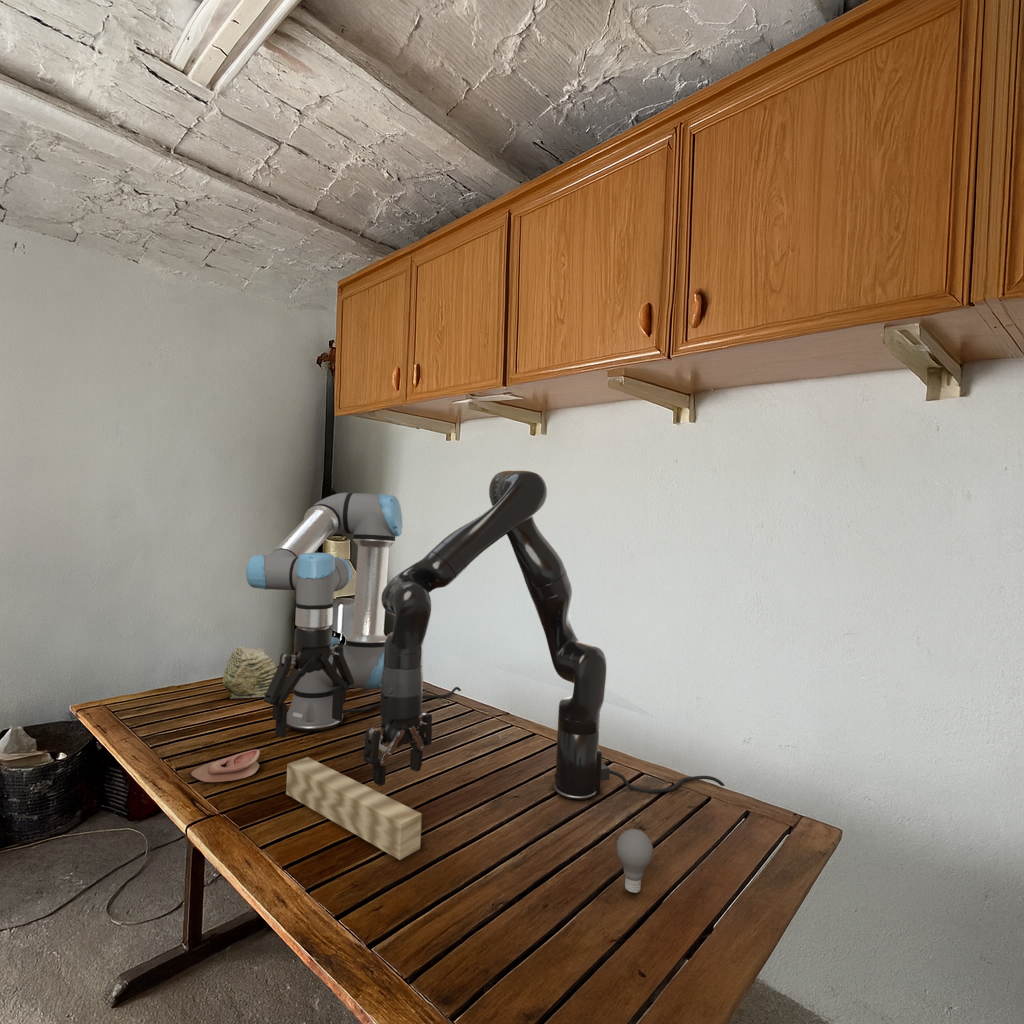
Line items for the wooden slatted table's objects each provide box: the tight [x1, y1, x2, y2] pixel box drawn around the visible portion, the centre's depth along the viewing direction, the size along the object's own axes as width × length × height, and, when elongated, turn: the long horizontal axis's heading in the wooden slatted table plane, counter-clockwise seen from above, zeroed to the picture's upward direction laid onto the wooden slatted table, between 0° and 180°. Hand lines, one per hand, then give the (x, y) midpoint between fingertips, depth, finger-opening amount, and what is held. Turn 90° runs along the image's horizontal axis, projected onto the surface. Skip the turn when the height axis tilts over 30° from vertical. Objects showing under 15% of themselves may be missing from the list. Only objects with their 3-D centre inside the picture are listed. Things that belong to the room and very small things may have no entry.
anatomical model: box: [190, 748, 261, 783], centre depth 143 cm, size 13×4×12 cm
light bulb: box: [615, 828, 654, 894], centre depth 106 cm, size 6×6×10 cm
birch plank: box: [285, 756, 423, 861], centre depth 125 cm, size 36×5×6 cm, turn 51°
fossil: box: [222, 646, 278, 699], centre depth 198 cm, size 9×18×15 cm, turn 132°
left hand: (309, 727), depth 133 cm, fingers open, 13 cm apart
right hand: (397, 777), depth 116 cm, fingers open, 8 cm apart
